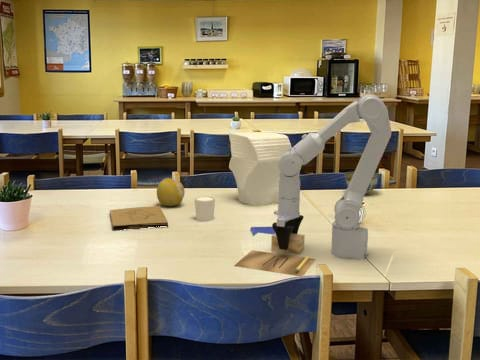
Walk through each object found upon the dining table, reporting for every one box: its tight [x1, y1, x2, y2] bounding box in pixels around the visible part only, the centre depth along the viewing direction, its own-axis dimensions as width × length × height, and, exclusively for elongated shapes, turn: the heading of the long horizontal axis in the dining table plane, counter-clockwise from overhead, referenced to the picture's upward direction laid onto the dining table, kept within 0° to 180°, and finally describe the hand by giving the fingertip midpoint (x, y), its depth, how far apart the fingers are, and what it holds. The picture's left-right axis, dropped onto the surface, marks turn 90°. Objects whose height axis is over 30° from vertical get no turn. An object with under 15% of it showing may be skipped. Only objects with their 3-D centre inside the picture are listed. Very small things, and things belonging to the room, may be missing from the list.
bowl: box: [344, 170, 380, 196], centre depth 221 cm, size 14×13×8 cm
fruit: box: [156, 177, 185, 207], centre depth 201 cm, size 10×11×10 cm
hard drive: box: [250, 226, 275, 237], centre depth 167 cm, size 2×8×12 cm
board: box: [233, 249, 317, 277], centre depth 142 cm, size 18×13×1 cm
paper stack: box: [228, 131, 292, 206], centre depth 206 cm, size 21×27×26 cm
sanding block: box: [270, 233, 306, 256], centre depth 151 cm, size 8×4×6 cm, turn 68°
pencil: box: [295, 255, 311, 273], centre depth 139 cm, size 11×1×1 cm, turn 158°
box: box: [109, 205, 169, 232], centre depth 183 cm, size 21×18×2 cm
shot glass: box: [194, 196, 216, 222], centre depth 184 cm, size 7×7×7 cm
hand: (287, 244), depth 151 cm, fingers open, 7 cm apart
